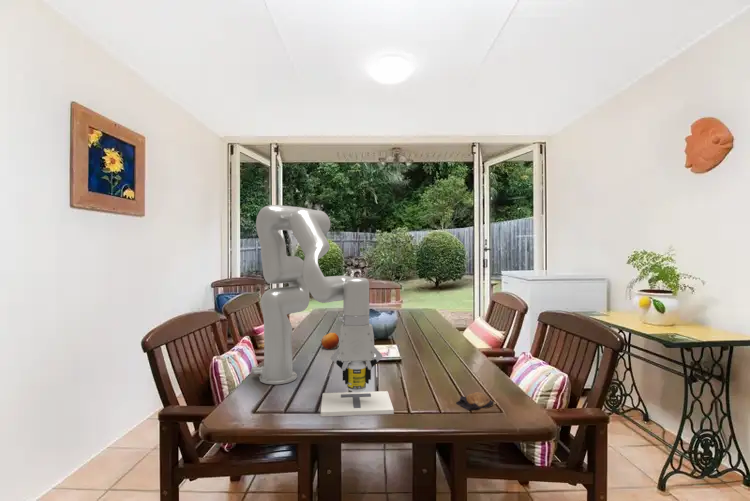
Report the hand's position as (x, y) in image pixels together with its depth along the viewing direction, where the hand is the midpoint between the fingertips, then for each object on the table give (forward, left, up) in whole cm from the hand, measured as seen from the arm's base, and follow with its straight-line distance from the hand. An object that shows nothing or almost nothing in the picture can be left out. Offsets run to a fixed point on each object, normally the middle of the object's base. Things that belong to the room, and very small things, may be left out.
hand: (356, 381), depth 117 cm
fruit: (-9, +65, -7) cm, 66 cm away
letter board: (0, 0, -7) cm, 7 cm away
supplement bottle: (0, 0, -2) cm, 2 cm away
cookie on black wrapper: (+35, -2, -8) cm, 36 cm away
